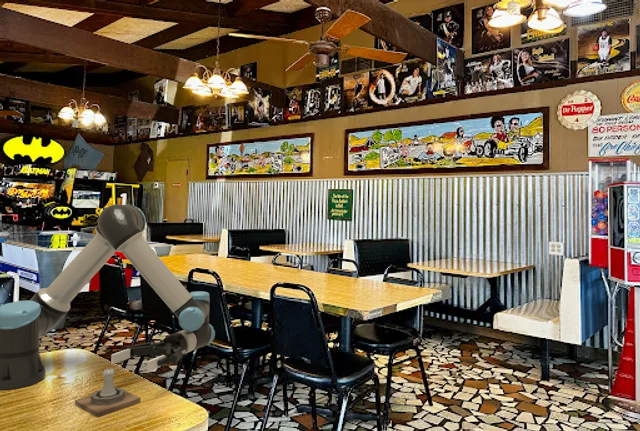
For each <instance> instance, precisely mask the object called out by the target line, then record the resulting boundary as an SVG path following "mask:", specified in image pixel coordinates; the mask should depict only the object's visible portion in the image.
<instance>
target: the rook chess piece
mask: <svg viewBox="0 0 640 431" xmlns="http://www.w3.org/2000/svg"><path fill="white" fill-rule="evenodd" d="M115 374H116V371H115V370H114V368H111V367H110V368H106V369H104V370H103V372H102V374H101V375H102V377H103V378H102V381H103V384H102V385H103V386H102V388H101V389H102V390H101V389H100V390H101V393H100V397H99V398H109V397H113V396H116V394H117V392H116V390H115V388H116V387H115V386H114V379H115V378H114V375H115Z"/></svg>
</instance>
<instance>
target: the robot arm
mask: <svg viewBox="0 0 640 431" xmlns="http://www.w3.org/2000/svg"><path fill="white" fill-rule="evenodd" d="M146 225H147V220H146V215H145V214H144V212H143V211H142V210H141V209H140V208H139V207H137V206H135V205H133V204H118V203H116V204H111V205H108V206H107V207H105V208H104V209H103V210H102V211H101V212H100V214H99V216H98V219H97V226H96V227H95V235H94V236H93V238H91V239H90V240H89V242H88V243H86V245H85V246H84V247H82V249H81V250H80V252H79V253H78V254H77V255H76V256H75V257H74V258H73V259H72V260H71V261H70V262H69V263H68V264H67V266H66V267H65V268H64V269H63V270H62V271H61V273H60V274H58V275H57V277H56V278H55V279H54V280H53V281H52V282H51V283H50V285H49V286H47V287H42V288H39V290H38V291H37V292H36V293H35V294H34V295H33V296H32V297H31V298H30V300H18V301H13V302H8V303H5V304H2V305H1V306H0V390H12V389H19V388H25V387H28V386H32V385H35V384H37V383H39V382H41V381H43V380H44V379H45V378H46V367H45V365H44V361H43V360H42V357H41V354H40V337H42V336H43V335H45V334H47V333H49V332H50V331H53V330H55V329H56V328H58V326H59V325H60V324H61V323H62V322H63V320H64V318H65V315H67V313H68V312H69V311H70V309H71V302H72V301H73V299H75V297H76V296H78V294H79V293H80V292H81V291H82V289H83V288H85V287H86V285H87V284H88V283H89V282H90V281H91V280H92V278H93V277H94V276H95V275H96V274H97V273H98V272H99V271H100V270H101V269H102V268H103V266H104V265H105V264H106V263H107V262H108V261H110V259H111V258H112V256H113V255H114V254H115V253H116V252H117V253H118V252H119V253H122V254H123V256H124V257H125V258H126V259H127V260H128V261H129V263H130V264H131V265H132V266H133V267H134V268H135V270H136V271H138V273H139V275H141V277H143V279H144V280H145V281H146V282H147V284H148V285H149V287H151V288H152V289H153V290H154V292H155V293H156V294H157V295H158V297H160V299H161V300H162V301H163V302H164V303H165V304H166V306H167V307H168V308H169V309H170V310H171V312H172V313H173V314H174V315H175V316H176V318H177V319H178V324H179V327H181V329H182V330H179V331H177V332H175V333H172V334H169V335H167V336H165V338H164V339H163V341H160V342H157V343H156V341H154V340H152V341H150V342H144V343H138V344H133V345H126V346H124V347H123V350H121V351H118V352H115V353H112V354H111V355H110V357H111V358H110V359H111V360H110V364H111V365H115V364H117V363H120V362H122V361H126V360H129V359H130V358H131V357H137V356H145V355H146V356H147V355H150V356H157V357H154V358H152V359H149V360H148V361H146V372H150V371H153V370H156V369H157V368H160V367H162V366H165V365H170V364H172V365H173V366H174V365H175V366H176V365H177V364H178V362H179V361H180V360H181V359H182V357H184V356H186V355H187V354H188V353H190V352H192V351H195V350H197V349H200V348H203V347H205V346H208V345H209V344H210V343H212V342H213V341H214V339H215V336H216V330H215V329H214V326H212V324H210V303H211V301H210V300H211V299H210V293H209V292H207V291H201V290H200V291H190V292H189V291H188V289H186V287H185V286H184V285H183V284H182V282H181V281H179V279H178V277H176V276H175V275H174V273H173V272H172V270H170V268H169V267H168V266H167V265H166V264H165V262H164V261H163V260H162V259H161V258H160V257H159V255H158V254H157V253H156V252H155V251H154V249H153V248H152V247H151V246H150V245H149V243H148V242H147V241H146V240H145V239H144V238H143V232H144V230H145V229H146Z"/></svg>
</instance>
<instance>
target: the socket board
mask: <svg viewBox="0 0 640 431" xmlns="http://www.w3.org/2000/svg"><path fill="white" fill-rule="evenodd" d="M114 388H115V390H116V392H117V394H116V396H113V397H109V398H99V397H100V393H101V390H102V389H103V388H101V389H98V390H95V391H93V393H92V394H91V395H87V396H85V397H81V398H78V399H74V405H75V406H76V407H79V408H81V409H82V410H84V411H86V412H87V413H89V414H91V415H93V416H95V417H97V418H100V417H102V416H103V417H104V416H105V415H108V414H111V413H114V412H116V411H120V410H122V409H125V408H129V407H131V406H134V405H136V404H140V403H141V397H139V396H137V395H135V394H133V393H131V392H129V391H126V390H125V389H123V388H122V387H114Z"/></svg>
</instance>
